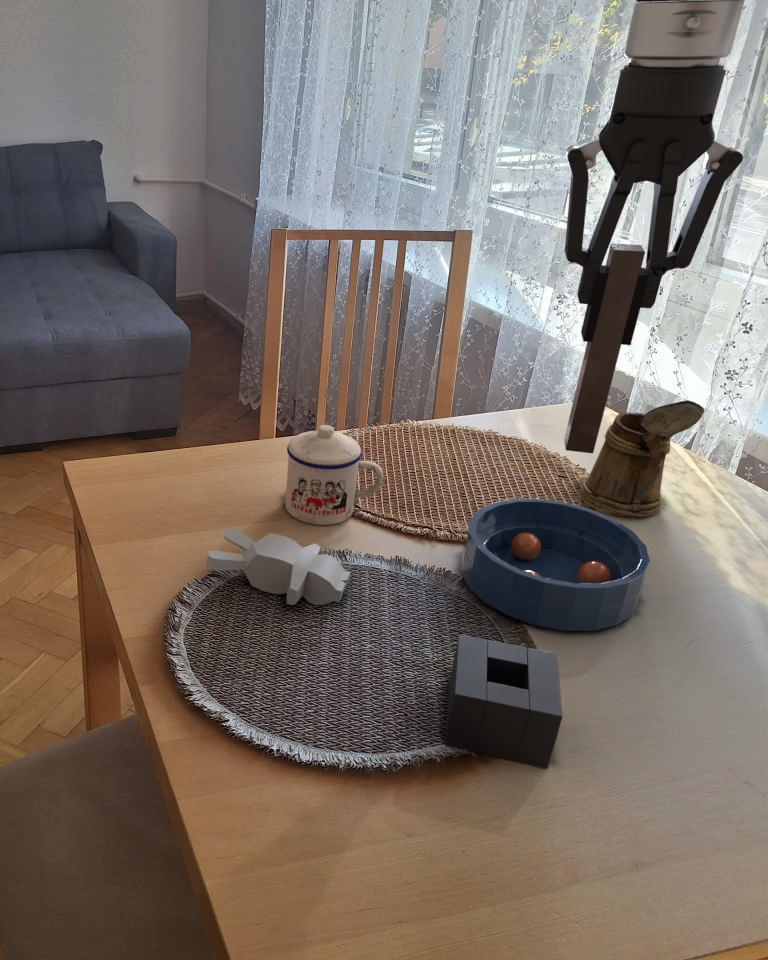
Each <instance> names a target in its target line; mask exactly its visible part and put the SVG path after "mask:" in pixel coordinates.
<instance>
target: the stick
mask: <svg viewBox="0 0 768 960" xmlns="http://www.w3.org/2000/svg"><path fill="white" fill-rule="evenodd" d="M644 249H645V248H644V247H643V246H642V245H641V244H627V243H610V244H609V248H608V250H609V251H608V254H607V258H606V262H605V266H606V269H607V271H608V273H609V275H608V279H607V283H606V287H605V291H604V295H603V299H602V304H601V308H600V312H599V316H598V320H597V324H596V328H595V332H594V337H593V341H592V342H586V346H585V350H584V355H583V359H582V363H581V366H580V372H579V376H578V380H577V385H576V388H575V392H574V396H573V401H572V404H571V409H570V414H569V418H568V421H567V426H566V430H565V435H564V438H563V440H564V441H563V442H564V448H565V451H567V452H577V453H584V454H585V453H586V454H594V451H595V448H596V444H597V440H598V436H599V433H600V428H601V425H602V421H603V418H604V413H605V409H606V406H607V402H608V399H609V394H610V389H611V387H612V382H613V379H614V375H615V371H616V367H617V362H618V359H619V355H620V351H621V348H622V345H621V343H622V339H623V336H624V332H625V328H626V324H627V320H628V316H629V312H630V308H631V304H632V301H633V297H634V293H635V289H636V285H637V281H638V277H639V274H640V270H641V268H643V267H642V266H643V263H644V259H645V254H646V251H645V250H644Z"/></svg>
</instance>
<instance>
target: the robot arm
mask: <svg viewBox="0 0 768 960" xmlns="http://www.w3.org/2000/svg"><path fill="white" fill-rule="evenodd" d="M745 1H746V0H635V3H634V7H633V11H632V16H631V20H630V24H629V28H628V33H627V37H626V42H625V46H624V50H623V55H624V57H625V58H626V59H630V60H629V62H628V64H626V65H623V67H622V68H621V69H620V70H619V74H618V78H617V82H616V86H615V92H614V96H613V99H612V105H611V109H610V114H609V118H608V120H607V121H606V123H605V125H604V126H603V127H602V129H601V130H600V132H599V134H598V137H597V138H594V139H592V140H589V141H587V142H585V143H582V144H580V145H576V144H573V145H570V146H568V147H567V149H566V150H565V157H566V160H567V164H568V167H569V169H570V173H571V174H570V186H569V197H568V209H567V222H566V232H565V244H564V253H565V258H566V260H567V262H569V263H571V264H572V263H573V264H577V265H578V266H581V267H582V271H581V275H580V280H579V284H578V288H577V292H576V295H577V299H578V300H577V301H578V304H580V305H586V309H585V313H584V317H583V322H582V325H581V330H580V334H581V338H582V342H585V343H587V342H592V341H593V337H594V332H595V328H596V324H597V320H598V316H599V312H600V308H601V304H602V299H603V295H604V291H605V287H606V283H607V279H608V275H609V273H608V271H607V269H606V264H605V265H603V263H604V260H605V258H606V255H607V252H608V250H609V248H610V245H611V241H612V239H613V237H614V234H615V231H616V229H617V226H618V224H619V221H620V218H621V215H622V213H623V210H624V207H625V205H626V202H627V200H628V197H629V196H630V194H631V192H632V190H633V186H634V184H638V183H643V182H649V183H653V197H652V206H651V216H650V225H649V232H648V241H647V248H646V249H647V250H646V257H645V267H641V270H640V274H639V277H638V281H637V285H636V289H635V293H634V297H633V301H632V304H631V308H630V312H629V316H628V320H627V324H626V328H625V332H624V336H623V339H622V343H621V346H631V345H632V342H633V339H634V338H633V337H634V334H635V330H636V326H637V323H638V318H639V315H640V312H641V309H652V308H653V306H654V305H655V303H656V300H657V297H658V293H659V289H660V285H661V281H662V278H663V276H664V275H666V273H667V272H668V271H673V270H677V269H683V270H684V269H686V268H688V267H689V266H690V265H691V263H692V261H693V258H694V256H695V254H696V252H697V249H698V246H699V244H700V242H701V239H702V237H703V234H704V232H705V230H706V228H707V225H708V223H709V221H710V218H711V215H712V213H713V211H714V208H715V206H716V204H717V201H718V199H719V196H720V195H721V192H722V189H723V187H724V185H725V182H726V181H727V180H728V179H729V178H730V176H731V175H732V174H733V173H734V172H735V171H736V170H737V168H738V167H740V165H741V164H742V162H743V160H744V156H743V154H742V153H741V152H740V151H738V150H737V149H735V148H734V147H727V146H726V145H724V144H721V143H719V142H718V141H716V140H715V138H716V134H715V131H714V126H713V121H714V116H715V112H716V108H717V106H718V101H719V97H720V93H721V90H722V88H723V87H722V86H723V84H724V79H725V76H726V72H727V69H725V66H724V65H723V64H720V62H721V59H724V58H727V57H728V56H729V55H730V54H732V50H733V46H734V43H735V38H736V35H737V31H738V27H739V23H740V20H741V15H742V12H743V8H744V4H745ZM600 152H602V153H603V155H604V157H605V159H606V160H607V163H608V164H609V166H610V168H611V170H612V172H613V173H614V174H613V176H612V179H611V182H610V185H609V190H608V193H607V196H606V198H605V201H604V204H603V206H602V209H601V212H600V214H599V217H598V220H597V222H596V225H595V228H594V230H593V233H592V236H591V239H590V241H589V244H588V247H587V248H585V247H583V243H584V234H585V233H584V232H585V220H586V213H587V204H588V203H587V200H588V190H589V180H590V179H589V177H590V176H589V170H590V169H592V168H593V167H594V166H595V165H596V163H597V157H598V154H599V153H600ZM704 154H705V159H704V161H703V163H702V164H703V168H704V169H705V171H704V173H703V175H702V177H701V179H700V181H699V183H698V186H697V188H696V191H695V193H694V195H693V198H692V201H691V203H690V206H689V208H688V211H687V213H686V216H685V218H684V219H683V223H682V224H681V228H680V229H679V232H678V235H677V238H676V239H675V243H674V245H673V247H672V249H671V251H668V250H669V245H670V237H671V236H670V235H671V228H672V220H673V213H674V204H675V197H676V194H677V191H678V184H679V177H680V176H681V175H683V173H685V171H687V170H688V169H689V168H690V167H691V166H692V165H693V164H694V163H695V162H696V161H698V159H700V158H701V157H702V156H703V155H704Z"/></svg>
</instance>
